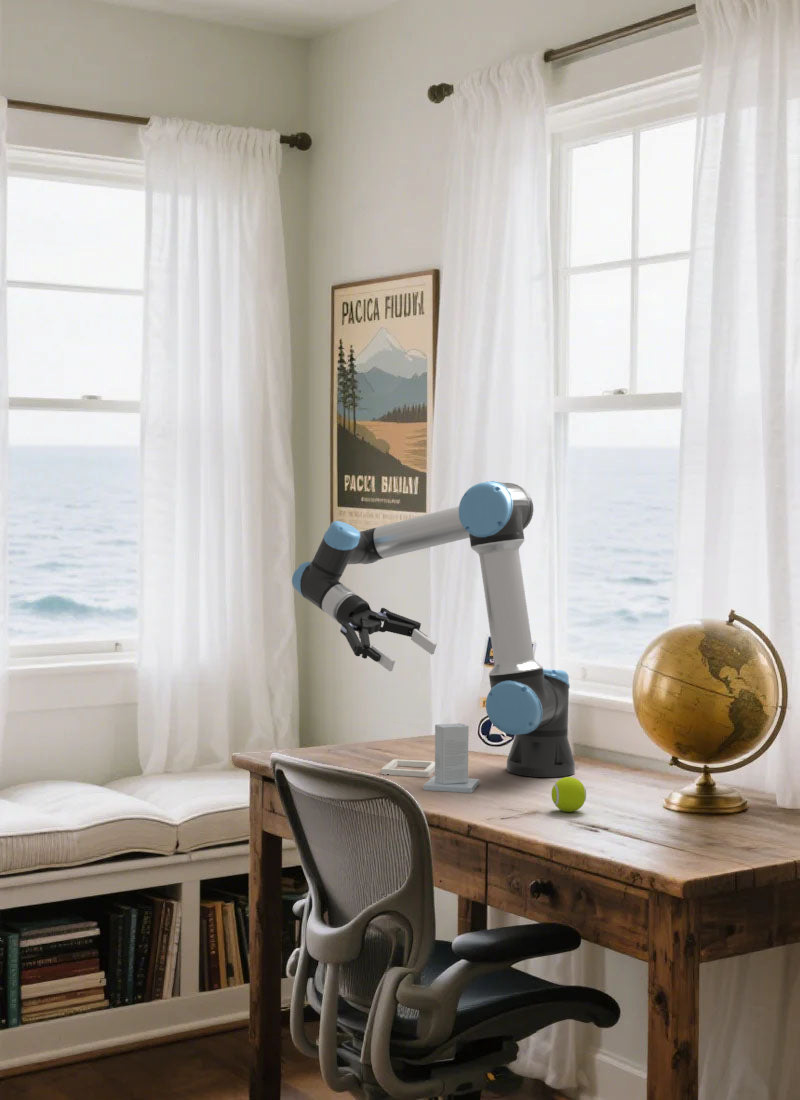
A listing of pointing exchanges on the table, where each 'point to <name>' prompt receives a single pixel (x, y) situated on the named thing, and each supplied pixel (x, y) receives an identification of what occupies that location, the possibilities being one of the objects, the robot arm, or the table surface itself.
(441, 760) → the skincare box
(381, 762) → the table surface
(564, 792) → the tennis ball
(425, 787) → the coaster
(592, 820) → the table surface
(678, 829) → the table surface
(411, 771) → the grey base tray
